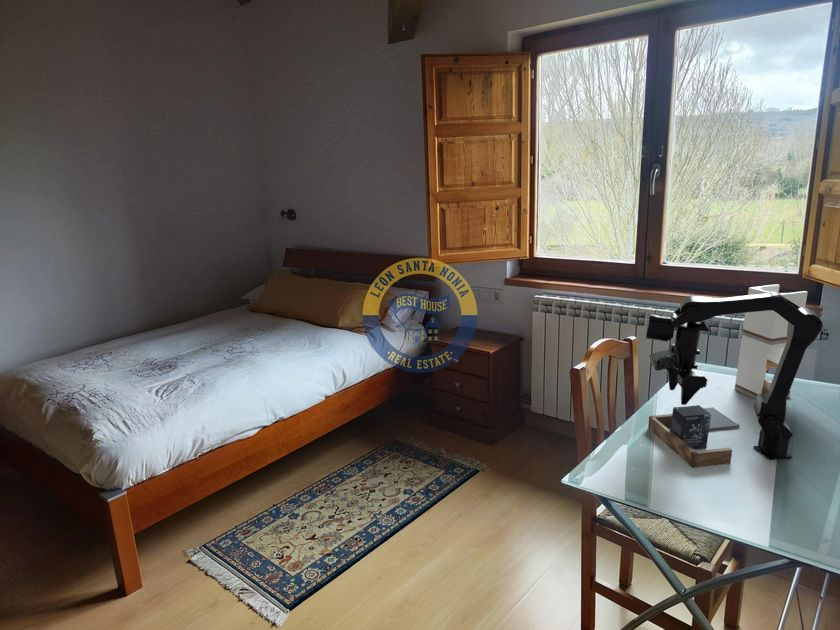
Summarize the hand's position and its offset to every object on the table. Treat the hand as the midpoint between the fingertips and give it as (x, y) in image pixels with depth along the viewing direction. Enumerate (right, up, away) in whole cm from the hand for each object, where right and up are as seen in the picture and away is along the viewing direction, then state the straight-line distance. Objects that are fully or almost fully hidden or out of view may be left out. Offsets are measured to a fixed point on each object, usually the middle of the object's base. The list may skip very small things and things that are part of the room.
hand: (677, 397), depth 154 cm
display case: (+42, -3, +30) cm, 51 cm away
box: (+3, -13, 0) cm, 14 cm away
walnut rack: (+3, -13, 0) cm, 13 cm away
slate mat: (+15, -9, +13) cm, 22 cm away
